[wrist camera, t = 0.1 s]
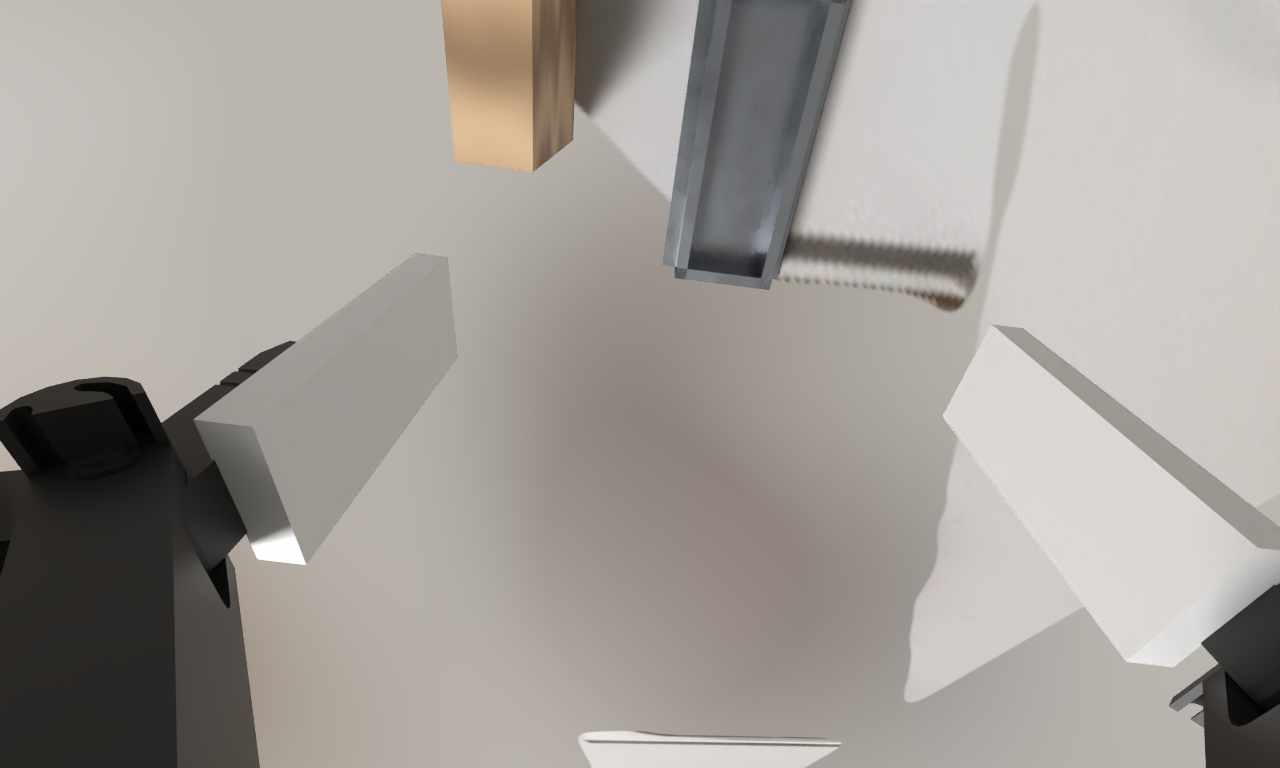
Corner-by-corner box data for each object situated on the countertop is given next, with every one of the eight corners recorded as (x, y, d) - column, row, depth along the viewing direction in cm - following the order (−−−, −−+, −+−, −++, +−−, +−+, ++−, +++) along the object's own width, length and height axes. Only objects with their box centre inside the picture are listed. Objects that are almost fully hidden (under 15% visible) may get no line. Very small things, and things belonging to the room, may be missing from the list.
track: (703, -26, 31) (705, -34, 28) (851, -6, 31) (866, -12, 28) (662, 262, 40) (662, 276, 38) (775, 276, 40) (781, 291, 38)
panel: (512, -96, 29) (426, -176, 19) (580, -87, 29) (531, -162, 19) (516, 132, 36) (454, 161, 26) (572, 140, 36) (532, 172, 26)
